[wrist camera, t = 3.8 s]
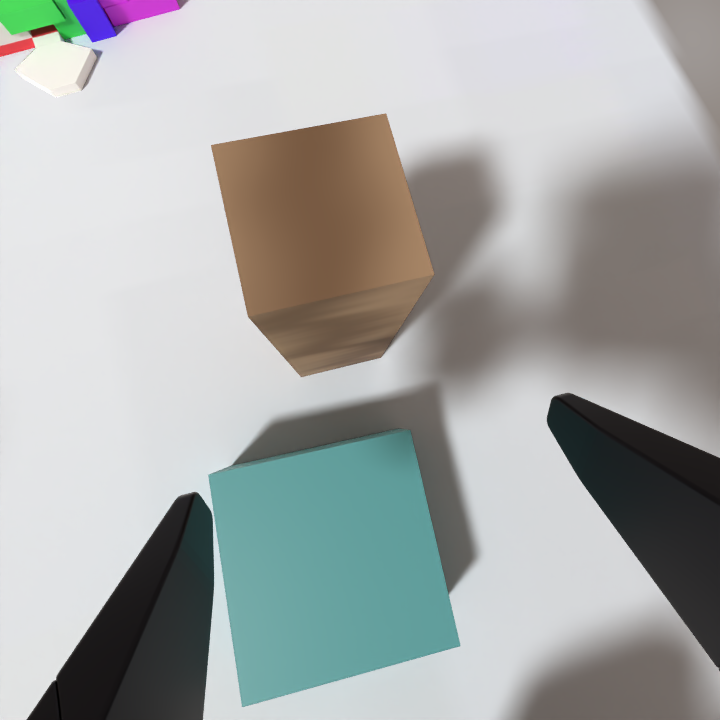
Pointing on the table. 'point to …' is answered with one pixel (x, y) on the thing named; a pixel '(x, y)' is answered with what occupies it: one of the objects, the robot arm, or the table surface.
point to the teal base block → (329, 564)
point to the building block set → (65, 35)
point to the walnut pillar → (324, 239)
